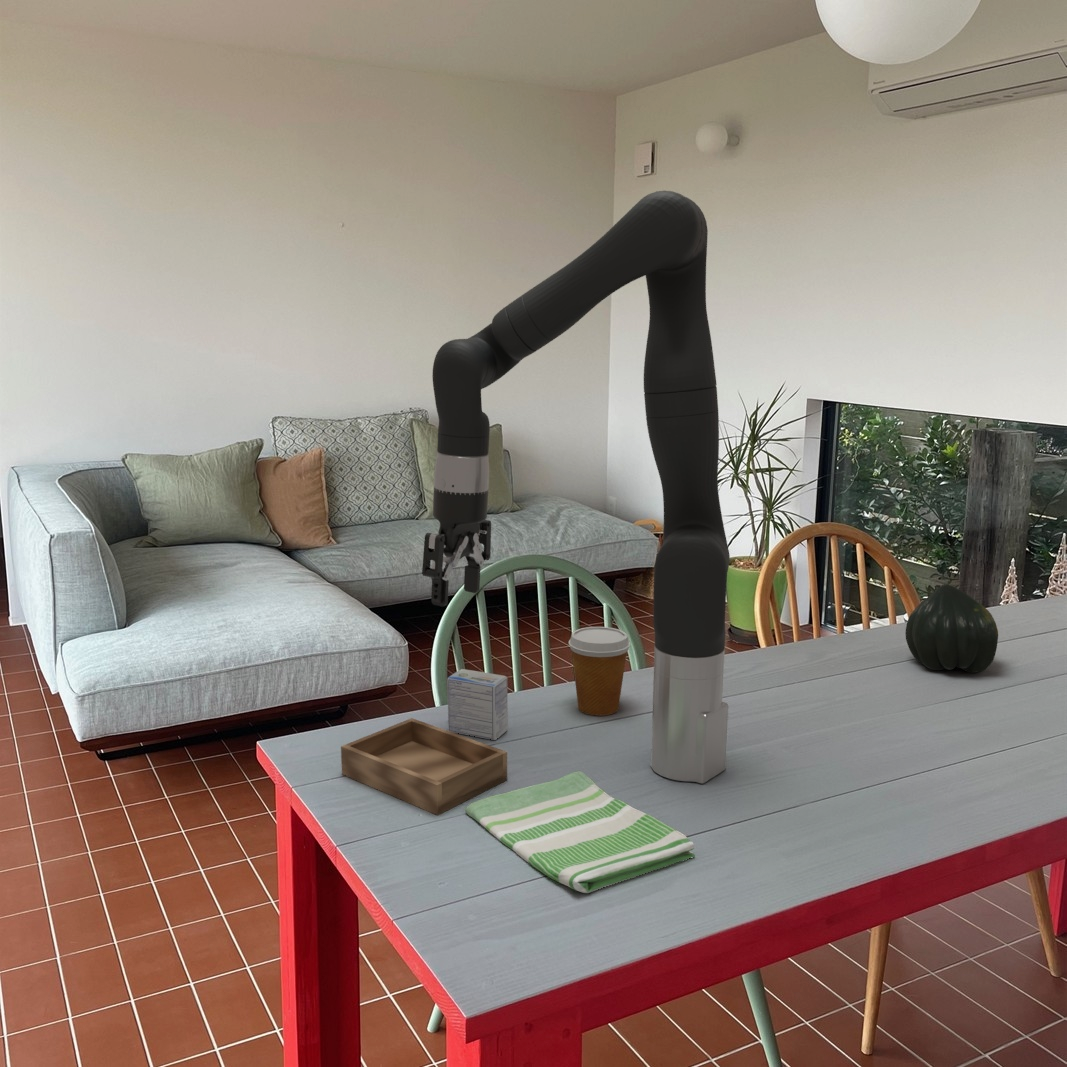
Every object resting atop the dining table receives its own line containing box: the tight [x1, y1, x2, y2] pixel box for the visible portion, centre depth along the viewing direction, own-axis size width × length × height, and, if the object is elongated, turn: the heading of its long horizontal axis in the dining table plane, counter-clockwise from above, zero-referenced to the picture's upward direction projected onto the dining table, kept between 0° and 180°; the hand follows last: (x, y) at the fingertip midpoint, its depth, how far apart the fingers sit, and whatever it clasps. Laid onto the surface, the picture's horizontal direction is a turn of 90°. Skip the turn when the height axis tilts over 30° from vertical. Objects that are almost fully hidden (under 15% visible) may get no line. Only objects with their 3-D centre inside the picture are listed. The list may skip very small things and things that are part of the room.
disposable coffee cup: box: [568, 626, 631, 716], centre depth 163 cm, size 10×10×12 cm
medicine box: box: [446, 668, 509, 741], centre depth 155 cm, size 8×4×9 cm, turn 65°
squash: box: [905, 583, 999, 674], centre depth 184 cm, size 14×15×15 cm
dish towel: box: [464, 770, 696, 894], centre depth 125 cm, size 18×23×3 cm
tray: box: [340, 717, 508, 816], centre depth 140 cm, size 18×13×4 cm
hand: (455, 598), depth 149 cm, fingers open, 8 cm apart
